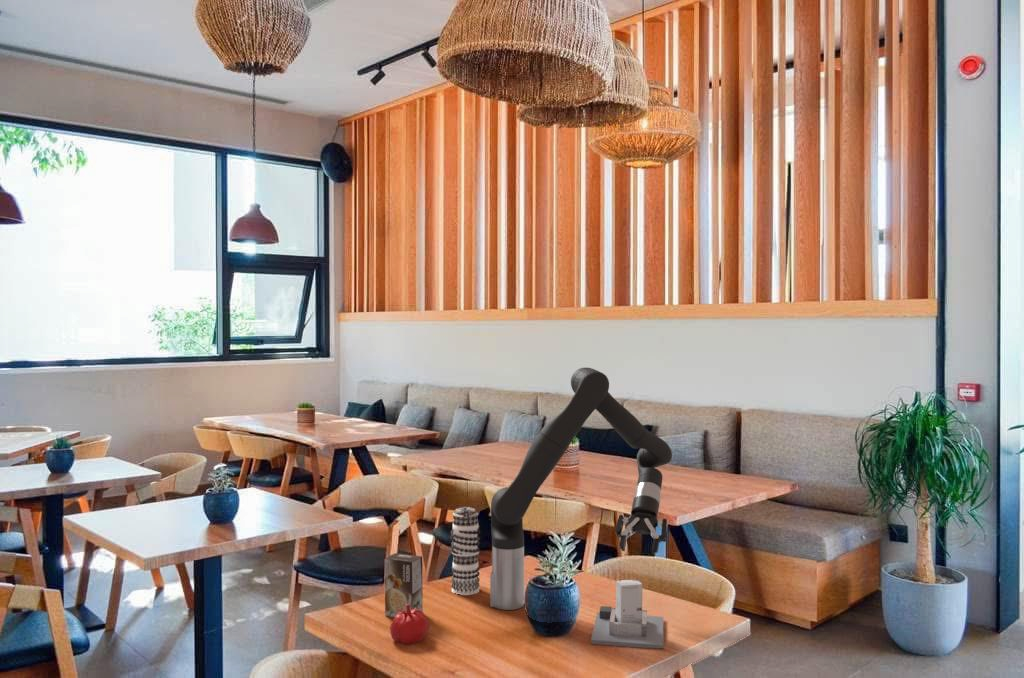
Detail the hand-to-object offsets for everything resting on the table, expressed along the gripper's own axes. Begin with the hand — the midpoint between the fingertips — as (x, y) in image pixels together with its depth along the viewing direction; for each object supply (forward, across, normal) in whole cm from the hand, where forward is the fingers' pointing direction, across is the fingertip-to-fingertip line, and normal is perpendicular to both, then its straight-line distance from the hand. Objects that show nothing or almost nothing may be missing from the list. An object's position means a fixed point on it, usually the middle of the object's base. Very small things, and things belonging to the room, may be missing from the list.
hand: (637, 551), depth 225 cm
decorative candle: (+11, -54, +16) cm, 57 cm away
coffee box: (+28, -61, -2) cm, 67 cm away
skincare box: (+20, 0, +4) cm, 21 cm away
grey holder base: (+21, 0, +5) cm, 21 cm away
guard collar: (+21, 0, +5) cm, 21 cm away
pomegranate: (+39, -51, -13) cm, 66 cm away
